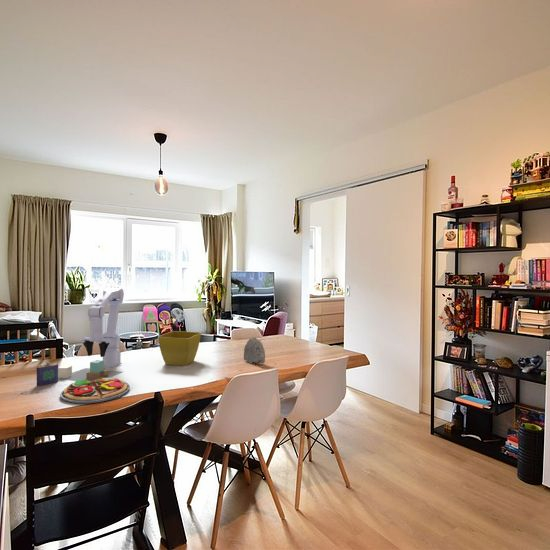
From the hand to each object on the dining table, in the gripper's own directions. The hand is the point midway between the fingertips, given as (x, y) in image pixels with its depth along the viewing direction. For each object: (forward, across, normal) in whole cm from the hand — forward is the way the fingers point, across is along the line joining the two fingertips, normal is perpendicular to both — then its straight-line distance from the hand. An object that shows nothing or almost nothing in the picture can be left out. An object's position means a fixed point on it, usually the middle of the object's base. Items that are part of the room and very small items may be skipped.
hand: (96, 355), depth 187 cm
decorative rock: (+10, +70, +48) cm, 86 cm away
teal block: (+7, +4, -4) cm, 9 cm away
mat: (+10, -2, -2) cm, 10 cm away
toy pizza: (+10, +19, -22) cm, 30 cm away
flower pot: (+10, +28, +35) cm, 46 cm away
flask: (+10, -11, -18) cm, 24 cm away
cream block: (+10, -12, -8) cm, 17 cm away
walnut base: (+10, +4, -4) cm, 11 cm away
